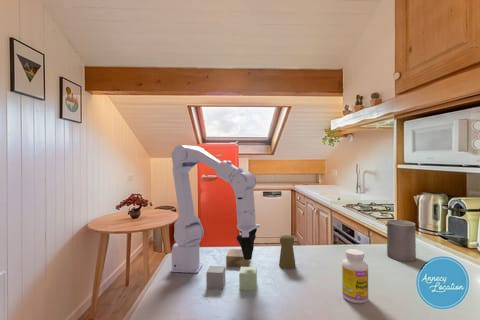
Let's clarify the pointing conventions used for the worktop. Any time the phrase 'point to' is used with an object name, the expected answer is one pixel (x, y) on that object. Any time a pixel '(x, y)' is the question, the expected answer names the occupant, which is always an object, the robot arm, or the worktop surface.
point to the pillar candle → (401, 240)
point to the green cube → (248, 278)
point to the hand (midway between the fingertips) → (248, 255)
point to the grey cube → (215, 277)
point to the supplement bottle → (355, 277)
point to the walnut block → (236, 258)
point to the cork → (287, 252)
